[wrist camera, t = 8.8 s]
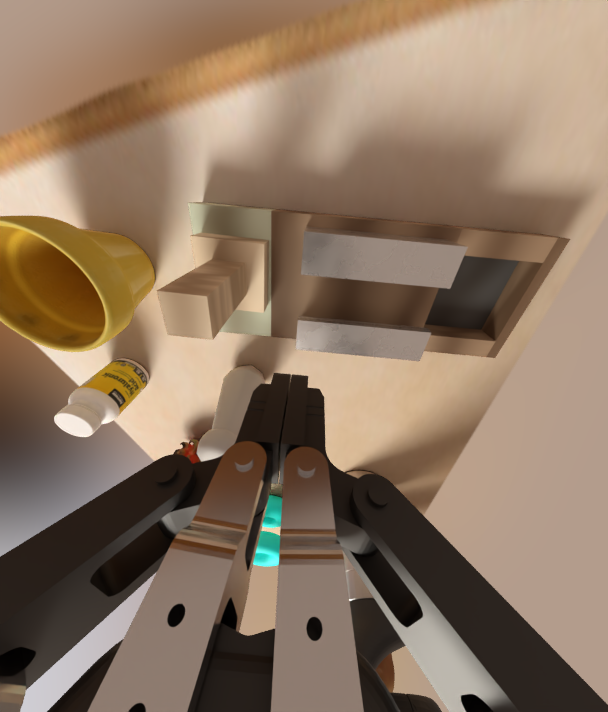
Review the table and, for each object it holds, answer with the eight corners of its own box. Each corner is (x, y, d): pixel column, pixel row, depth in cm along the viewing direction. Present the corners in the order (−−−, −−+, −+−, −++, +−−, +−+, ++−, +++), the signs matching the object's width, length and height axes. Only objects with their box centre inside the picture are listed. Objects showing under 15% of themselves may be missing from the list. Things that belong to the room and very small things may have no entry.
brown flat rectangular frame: (542, 234, 22) (570, 239, 20) (479, 344, 29) (495, 357, 27) (202, 202, 22) (187, 202, 20) (217, 319, 29) (208, 330, 27)
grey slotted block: (446, 239, 20) (467, 246, 17) (408, 342, 26) (419, 361, 23) (306, 226, 20) (304, 231, 17) (298, 331, 26) (295, 349, 23)
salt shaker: (244, 351, 32) (205, 432, 21) (277, 376, 34) (257, 461, 23) (220, 376, 34) (174, 459, 23) (252, 397, 36) (224, 483, 25)
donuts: (253, 570, 50) (225, 552, 45) (263, 516, 58) (240, 496, 53) (296, 566, 47) (272, 546, 42) (300, 510, 55) (280, 488, 50)
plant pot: (102, 183, 22) (-25, 175, 14) (191, 275, 26) (134, 310, 18) (56, 255, 26) (-65, 282, 18) (140, 325, 30) (75, 372, 22)
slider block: (269, 240, 21) (233, 270, 12) (268, 304, 25) (239, 363, 16) (201, 232, 21) (118, 256, 12) (209, 297, 24) (148, 353, 16)
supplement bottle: (158, 376, 35) (108, 431, 27) (137, 391, 37) (85, 447, 29) (124, 350, 32) (59, 401, 24) (104, 367, 34) (37, 421, 26)
